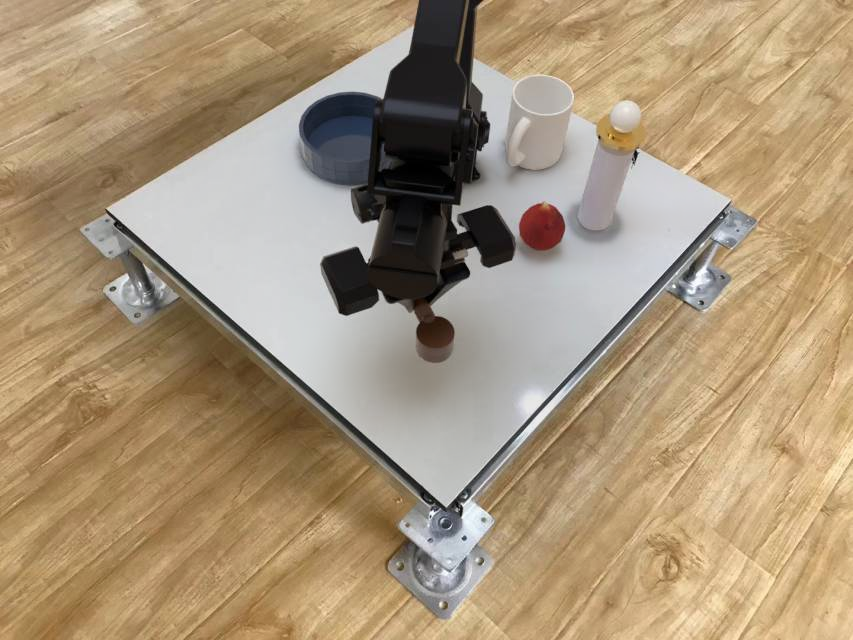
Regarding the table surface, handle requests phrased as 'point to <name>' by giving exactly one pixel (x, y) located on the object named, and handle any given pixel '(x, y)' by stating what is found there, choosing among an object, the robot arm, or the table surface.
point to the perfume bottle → (611, 163)
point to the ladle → (432, 334)
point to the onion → (542, 226)
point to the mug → (538, 121)
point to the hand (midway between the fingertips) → (418, 306)
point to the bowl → (340, 137)
